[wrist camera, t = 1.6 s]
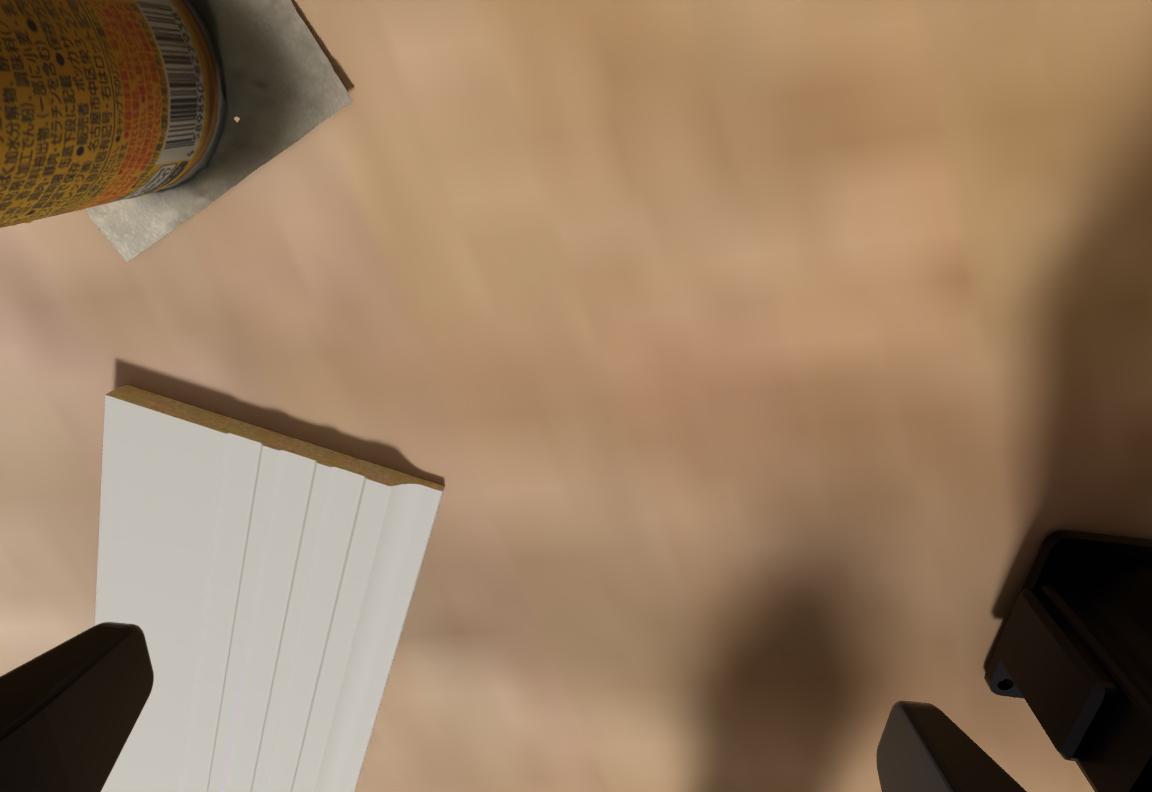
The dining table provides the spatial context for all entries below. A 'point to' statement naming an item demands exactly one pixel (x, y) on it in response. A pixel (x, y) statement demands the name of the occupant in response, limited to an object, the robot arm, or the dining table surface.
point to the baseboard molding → (252, 596)
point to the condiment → (149, 106)
